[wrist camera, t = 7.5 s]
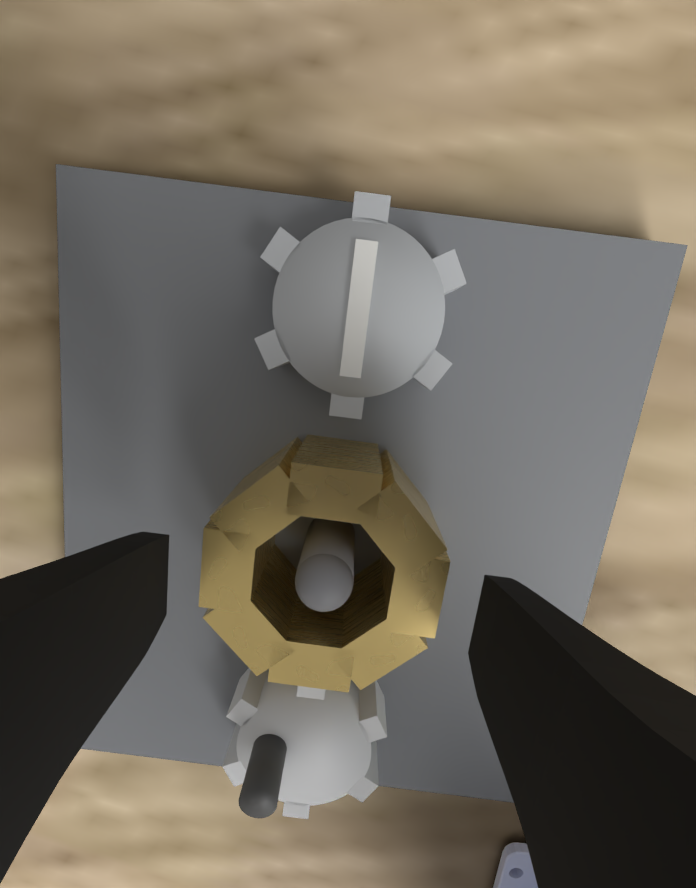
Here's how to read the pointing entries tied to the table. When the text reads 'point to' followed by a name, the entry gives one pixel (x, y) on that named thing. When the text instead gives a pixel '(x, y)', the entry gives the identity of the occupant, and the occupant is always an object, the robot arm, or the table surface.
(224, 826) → the table surface
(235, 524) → the brass gear
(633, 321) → the gear board
